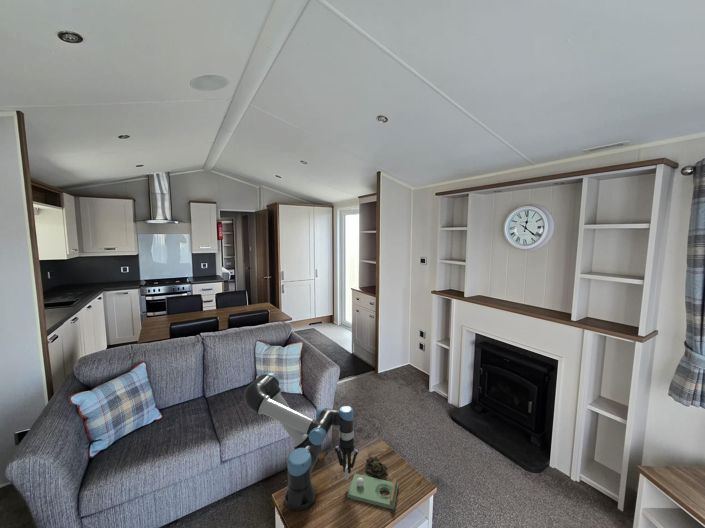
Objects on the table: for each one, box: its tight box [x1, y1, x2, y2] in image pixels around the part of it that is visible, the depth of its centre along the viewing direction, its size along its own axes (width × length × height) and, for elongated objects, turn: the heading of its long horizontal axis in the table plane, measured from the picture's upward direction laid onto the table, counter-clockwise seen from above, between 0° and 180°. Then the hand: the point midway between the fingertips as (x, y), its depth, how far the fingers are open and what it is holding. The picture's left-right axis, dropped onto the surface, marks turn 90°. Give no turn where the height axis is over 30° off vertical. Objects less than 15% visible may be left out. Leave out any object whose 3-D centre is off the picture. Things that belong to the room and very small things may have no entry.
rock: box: [364, 455, 388, 478], centre depth 177 cm, size 13×10×10 cm
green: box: [346, 473, 399, 510], centre depth 163 cm, size 24×14×4 cm, turn 74°
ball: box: [356, 477, 364, 487], centre depth 165 cm, size 4×4×4 cm
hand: (347, 477), depth 167 cm, fingers closed
